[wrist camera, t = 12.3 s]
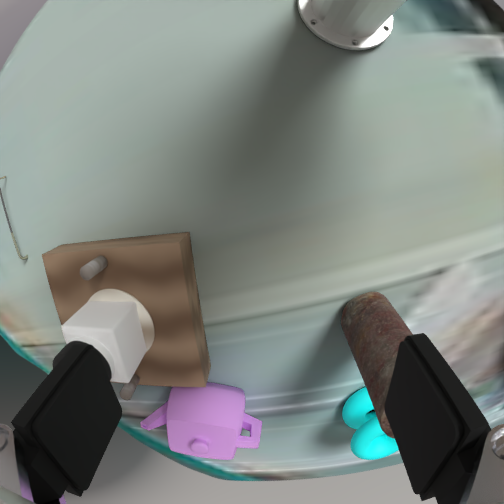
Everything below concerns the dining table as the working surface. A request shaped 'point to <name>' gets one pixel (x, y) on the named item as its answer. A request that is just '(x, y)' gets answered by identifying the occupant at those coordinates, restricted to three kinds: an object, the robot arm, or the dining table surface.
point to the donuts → (366, 428)
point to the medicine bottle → (108, 336)
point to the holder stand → (140, 300)
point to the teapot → (206, 421)
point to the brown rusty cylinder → (374, 345)
